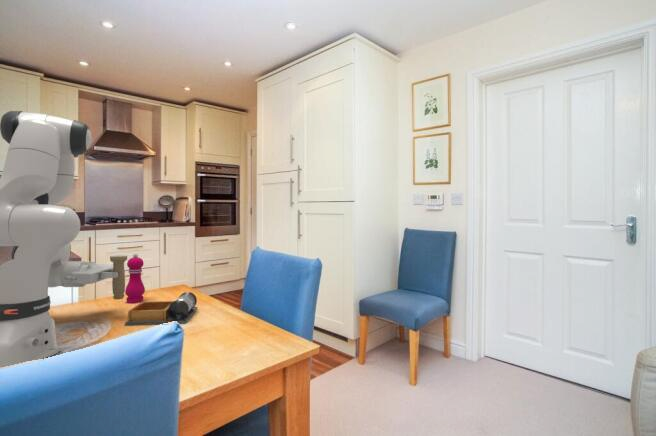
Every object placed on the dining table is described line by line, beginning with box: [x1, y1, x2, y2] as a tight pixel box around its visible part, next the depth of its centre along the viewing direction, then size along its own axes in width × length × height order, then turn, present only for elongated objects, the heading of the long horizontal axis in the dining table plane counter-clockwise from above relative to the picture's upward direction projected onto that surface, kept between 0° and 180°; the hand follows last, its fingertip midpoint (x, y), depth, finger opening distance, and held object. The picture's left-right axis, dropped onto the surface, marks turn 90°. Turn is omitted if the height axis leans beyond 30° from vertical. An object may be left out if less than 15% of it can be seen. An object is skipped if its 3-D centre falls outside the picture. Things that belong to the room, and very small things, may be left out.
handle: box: [109, 255, 128, 300], centre depth 123 cm, size 5×6×15 cm
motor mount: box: [124, 291, 198, 327], centre depth 124 cm, size 18×19×7 cm
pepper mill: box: [124, 253, 146, 304], centre depth 145 cm, size 7×7×20 cm
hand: (121, 273), depth 123 cm, fingers closed on handle, 3 cm apart
